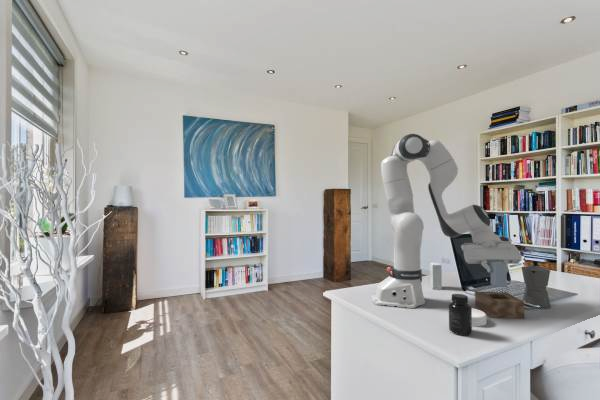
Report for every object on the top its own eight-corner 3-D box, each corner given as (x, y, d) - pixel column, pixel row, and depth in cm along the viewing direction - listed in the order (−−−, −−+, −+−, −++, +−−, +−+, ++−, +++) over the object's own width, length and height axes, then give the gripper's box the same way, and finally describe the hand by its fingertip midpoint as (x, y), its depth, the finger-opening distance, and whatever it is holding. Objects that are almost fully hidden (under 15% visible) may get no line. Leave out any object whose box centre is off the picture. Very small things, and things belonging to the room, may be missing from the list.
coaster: (458, 325, 107) (458, 315, 107) (452, 315, 116) (452, 306, 116) (490, 328, 104) (490, 318, 104) (481, 317, 114) (481, 308, 114)
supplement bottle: (476, 335, 98) (476, 298, 98) (456, 336, 98) (456, 299, 98) (463, 326, 105) (463, 292, 105) (444, 327, 104) (444, 292, 104)
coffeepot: (549, 312, 117) (548, 265, 117) (519, 306, 124) (518, 262, 124) (552, 302, 128) (552, 259, 128) (525, 297, 135) (524, 256, 135)
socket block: (489, 317, 113) (488, 301, 113) (475, 306, 125) (475, 291, 125) (524, 318, 111) (524, 302, 111) (507, 307, 123) (506, 292, 123)
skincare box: (442, 289, 148) (441, 265, 148) (432, 289, 149) (432, 264, 149) (439, 286, 154) (438, 262, 154) (430, 285, 155) (429, 262, 155)
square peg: (495, 287, 116) (494, 263, 116) (490, 284, 120) (489, 261, 120) (506, 287, 116) (506, 263, 116) (501, 284, 120) (500, 261, 120)
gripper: (461, 238, 127) (471, 267, 117) (514, 238, 124) (530, 267, 114) (457, 247, 131) (467, 275, 122) (509, 247, 128) (523, 276, 119)
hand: (498, 271), depth 118 cm, fingers closed on square peg, 4 cm apart
